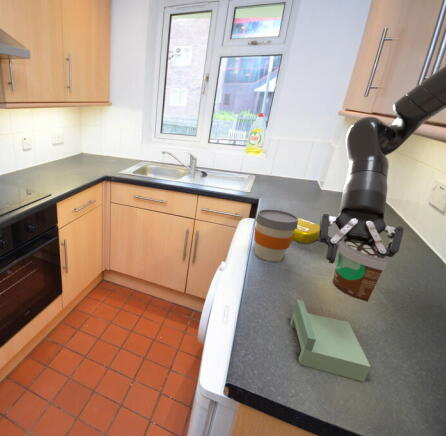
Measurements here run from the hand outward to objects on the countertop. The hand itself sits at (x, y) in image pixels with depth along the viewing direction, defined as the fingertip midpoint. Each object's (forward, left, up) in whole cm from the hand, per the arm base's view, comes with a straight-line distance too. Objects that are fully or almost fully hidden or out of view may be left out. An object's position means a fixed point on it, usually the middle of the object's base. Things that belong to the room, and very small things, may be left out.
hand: (352, 267), depth 60 cm
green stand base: (+1, +3, -19) cm, 19 cm away
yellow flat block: (-4, -64, -19) cm, 67 cm away
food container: (0, -2, -6) cm, 6 cm away
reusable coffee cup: (+9, -39, -19) cm, 45 cm away
